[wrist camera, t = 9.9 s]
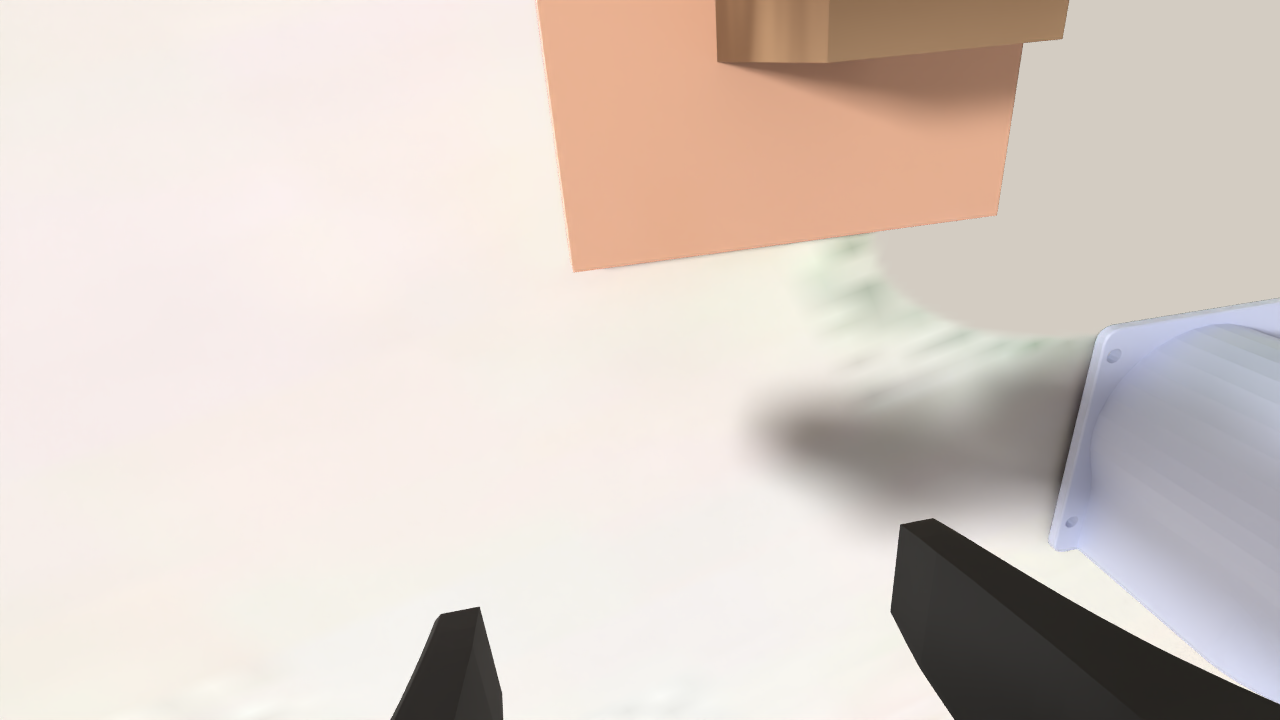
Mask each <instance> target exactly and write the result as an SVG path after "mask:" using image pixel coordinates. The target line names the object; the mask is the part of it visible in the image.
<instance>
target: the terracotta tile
mask: <svg viewBox="0 0 1280 720" xmlns="http://www.w3.org/2000/svg"><path fill="white" fill-rule="evenodd" d="M535 3H536V10H537V18H538V25H539V33H540V40H541V47H542V55H543V62H544V70H545V77H546V84H547V92H548V99H549V107H550V114H551V121H552V129H553V136H554V144H555V151H556V158H557V166H558V173H559V181H560V188H561V195H562V203H563V210H564V218H565V225H566V232H567V240H568V247H569V255H570V262H571V265H572V269H573V272H580V271H588V270H595V269H603V268H610V267H617V266H625V265H632V264H640V263H647V262H654V261H662V260H669V259H677V258H684V257H692V256H699V255H706V254H714V253H721V252H729V251H736V250H743V249H751V248H758V247H766V246H773V245H780V244H788V243H795V242H803V241H810V240H817V239H825V238H832V237H840V236H847V235H854V234H862V233H869V232H877V231H884V230H891V229H899V228H906V227H914V226H921V225H928V224H936V223H942V222H950V221H958V220H965V219H972V218H980V217H988V216H995V215H997V211H998V204H999V198H1000V191H1001V185H1002V178H1003V172H1004V165H1005V159H1006V152H1007V146H1008V139H1009V133H1010V126H1011V119H1012V113H1013V107H1014V100H1015V94H1016V86H1017V80H1018V74H1019V67H1020V61H1021V54H1022V48H1023V43H1018V44H1008V45H998V46H989V47H979V48H969V49H959V50H949V51H939V52H930V53H920V54H910V55H900V56H890V57H880V58H870V59H861V60H851V61H841V62H831V63H783V62H717V39H716V7H715V0H535Z"/></svg>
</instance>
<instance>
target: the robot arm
mask: <svg viewBox="0 0 1280 720" xmlns="http://www.w3.org/2000/svg"><path fill="white" fill-rule="evenodd" d="M1109 353H1110V354H1109ZM1108 354H1109V355H1108ZM1048 543H1049V544H1050V546H1051V547H1053V548H1054V549H1055V550H1056V551H1058V552H1063V551H1069V550H1073V549H1078V550H1080V551H1081V552H1082V553H1083V554H1084V555H1085V556H1087V557H1088V558H1089V559H1090V560H1091V561H1092V562H1093V563H1095V564H1096V565H1097V566H1098V567H1099V568H1100V569H1102V570H1103V571H1104V572H1105V573H1106V574H1107V575H1108V576H1110V577H1111V578H1112V579H1113V580H1114V581H1115V582H1117V583H1118V584H1119V585H1120V586H1121V587H1122V588H1124V589H1125V590H1126V591H1127V592H1128V593H1129V594H1130V595H1132V596H1133V597H1134V598H1135V599H1136V600H1137V601H1139V602H1140V603H1141V604H1142V605H1143V606H1144V607H1145V608H1147V609H1148V610H1149V611H1150V612H1151V613H1152V614H1154V615H1155V616H1156V617H1157V618H1158V619H1159V620H1160V621H1162V622H1163V623H1164V624H1165V625H1166V626H1167V627H1169V628H1170V629H1171V630H1172V631H1173V632H1174V633H1176V634H1177V635H1178V636H1179V637H1180V638H1181V639H1182V640H1184V641H1185V642H1186V643H1187V644H1188V645H1189V646H1191V647H1192V648H1193V649H1194V650H1195V651H1196V652H1197V653H1199V654H1200V655H1201V656H1202V657H1203V658H1204V659H1206V660H1207V661H1208V662H1209V663H1211V664H1212V665H1213V666H1215V667H1216V668H1217V669H1218V670H1220V671H1221V672H1222V673H1224V674H1226V675H1227V676H1229V677H1230V678H1232V679H1233V680H1235V681H1236V682H1238V683H1239V684H1241V685H1243V686H1245V687H1247V688H1248V689H1250V690H1252V691H1254V692H1256V693H1258V694H1260V695H1262V696H1264V697H1266V698H1264V697H1262V696H1260V695H1258V694H1255V693H1253V692H1251V691H1248V690H1246V689H1244V688H1242V687H1239V686H1237V685H1235V684H1233V683H1230V682H1228V681H1226V680H1224V679H1222V678H1220V677H1218V676H1216V675H1214V674H1211V673H1209V672H1207V671H1205V670H1203V669H1201V668H1199V667H1197V666H1194V665H1192V664H1190V663H1188V662H1186V661H1184V660H1182V659H1180V658H1178V657H1175V656H1173V655H1171V654H1169V653H1167V652H1165V651H1163V650H1161V649H1159V648H1157V647H1155V646H1153V645H1152V644H1150V643H1148V642H1146V641H1144V640H1142V639H1140V638H1138V637H1136V636H1134V635H1133V634H1131V633H1129V632H1127V631H1125V630H1123V629H1121V628H1120V627H1118V626H1116V625H1114V624H1112V623H1110V622H1108V621H1106V620H1105V619H1103V618H1101V617H1099V616H1097V615H1095V614H1094V613H1092V612H1090V611H1088V610H1087V609H1085V608H1083V607H1081V606H1079V605H1078V604H1076V603H1074V602H1072V601H1071V600H1069V599H1067V598H1065V597H1064V596H1062V595H1060V594H1059V593H1057V592H1055V591H1053V590H1052V589H1050V588H1048V587H1047V586H1045V585H1043V584H1042V583H1040V582H1038V581H1036V580H1035V579H1033V578H1031V577H1030V576H1028V575H1027V574H1025V573H1023V572H1022V571H1020V570H1018V569H1017V568H1015V567H1013V566H1012V565H1010V564H1008V563H1007V562H1005V561H1003V560H1002V559H1000V558H999V557H997V556H995V555H994V554H992V553H990V552H989V551H987V550H985V549H984V548H982V547H981V546H979V545H977V544H976V543H974V542H972V541H971V540H969V539H967V538H966V537H964V536H963V535H961V534H959V533H958V532H956V531H954V530H953V529H951V528H949V527H947V526H946V525H944V524H942V523H941V522H939V521H937V520H935V519H933V518H932V519H926V520H921V521H916V522H911V523H906V524H901V525H900V531H899V540H898V549H897V558H896V567H895V576H894V585H893V594H892V603H891V614H892V616H893V617H894V619H895V621H896V623H897V625H898V627H899V629H900V631H901V633H902V635H903V637H904V639H905V641H906V643H907V645H908V647H909V649H910V651H911V653H912V654H913V656H914V658H915V660H916V662H917V664H918V665H919V667H920V669H921V671H922V672H923V674H924V675H925V677H926V678H927V680H928V681H929V683H930V684H931V686H932V687H933V689H934V690H935V692H936V693H937V695H938V696H939V698H940V699H941V701H942V702H943V703H944V705H945V706H946V708H947V709H948V711H949V712H950V714H951V715H952V717H953V718H954V720H1280V298H1276V299H1269V300H1263V301H1256V302H1250V303H1244V304H1238V305H1232V306H1226V307H1219V308H1213V309H1207V310H1201V311H1195V312H1189V313H1182V314H1176V315H1170V316H1164V317H1158V318H1151V319H1145V320H1139V321H1133V322H1126V323H1120V324H1114V325H1110V326H1108V327H1106V328H1104V329H1103V330H1102V331H1101V332H1100V333H1099V334H1098V336H1097V338H1096V341H1095V345H1094V350H1093V354H1092V358H1091V362H1090V366H1089V370H1088V375H1087V379H1086V383H1085V387H1084V391H1083V396H1082V400H1081V404H1080V408H1079V412H1078V417H1077V421H1076V425H1075V429H1074V433H1073V437H1072V442H1071V446H1070V450H1069V454H1068V458H1067V463H1066V467H1065V471H1064V475H1063V479H1062V483H1061V488H1060V492H1059V496H1058V500H1057V504H1056V509H1055V513H1054V517H1053V521H1052V525H1051V529H1050V534H1049V538H1048ZM1267 698H1268V699H1267ZM1269 699H1270V700H1269ZM1271 700H1272V701H1271ZM391 720H503V703H502V691H501V688H500V684H499V680H498V676H497V672H496V668H495V664H494V661H493V657H492V653H491V649H490V645H489V641H488V637H487V634H486V630H485V626H484V622H483V618H482V614H481V610H480V607H475V608H470V609H465V610H460V611H455V612H450V613H444V614H441V615H440V616H439V617H438V618H437V619H436V621H435V623H434V625H433V628H432V630H431V633H430V635H429V638H428V640H427V642H426V645H425V647H424V649H423V652H422V654H421V656H420V659H419V661H418V663H417V665H416V668H415V670H414V672H413V674H412V676H411V679H410V681H409V683H408V685H407V687H406V689H405V692H404V694H403V696H402V698H401V700H400V702H399V704H398V706H397V708H396V710H395V712H394V714H393V716H392V718H391Z"/></svg>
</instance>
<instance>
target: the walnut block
mask: <svg viewBox="0 0 1280 720" xmlns="http://www.w3.org/2000/svg"><path fill="white" fill-rule="evenodd" d="M1068 4H1069V0H715V7H716V39H717V62H783V63H831V62H841V61H851V60H861V59H870V58H880V57H890V56H900V55H910V54H920V53H930V52H939V51H949V50H959V49H969V48H979V47H989V46H998V45H1008V44H1018V43H1028V42H1037V41H1048V40H1057V39H1062V38H1063V32H1064V27H1065V21H1066V16H1067V9H1068Z"/></svg>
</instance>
